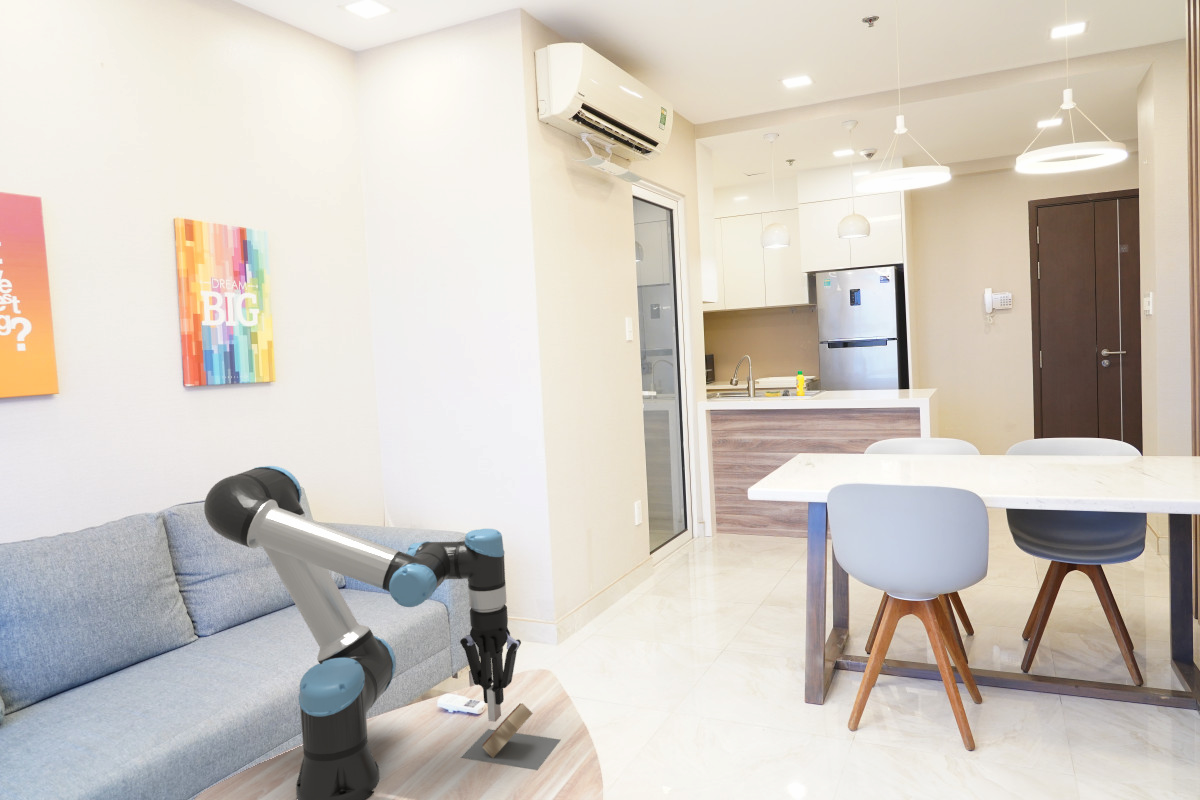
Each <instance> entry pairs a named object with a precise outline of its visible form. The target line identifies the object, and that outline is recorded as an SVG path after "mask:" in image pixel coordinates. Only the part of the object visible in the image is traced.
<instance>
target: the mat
mask: <svg viewBox="0 0 1200 800" xmlns="http://www.w3.org/2000/svg"><path fill="white" fill-rule="evenodd" d="M495 730H496V729H492V728H487V730H486V731H485V732H483V734H482V735H481V736H480V737H479V738H478V739H477V740H476V741H475V742H474V743H473V744H472V745H471V746H470V747H469V748H468V749H467V750H466V751H465V752H464V753H463V754H462V756H460V759H466V760H472V761H477V762H484V763H491V764H497V765H503V766H509V767H516V768H522V769H529V770H532V771H533V770H534V771H538V770H539V769H540V767H541V766H542V765H543V764H544V762H545V761H546V760H547V758H548V757H549V756H550V755H551V753H552V752H553V751H554V750H555V748H556V747H557V745H558V744H559V743H560V741H561V739H559V738H552V737H546V736H540V735H539V736H538V735H533V734H525V733H520V732H519V733H518V732H516V733H515V734H514V735H513V736H512V737H511V738H510V740H509V741H508V742H507V743H506V744H505V745H504V746H503V747H502V748H501V750H500V751H499V752H498V753H497V754H496V755H495V756H494V757H493V758H492V757H491V756H490V755H489V754H488V753H487V752H486V751H485V750H484V749H483V744H484V742H485V741H486V740H487V739H488V738H489V737H490V736H491V735H492V733H493V732H494V731H495Z"/></svg>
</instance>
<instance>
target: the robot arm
mask: <svg viewBox="0 0 1200 800" xmlns="http://www.w3.org/2000/svg"><path fill="white" fill-rule="evenodd" d="M301 488H302V487H301V485H300V483H299V481H298V479H297V478H296V476H294V474H292V473H291V472H290V471H289V470H287V469H286V468H282V467H280V466H275V465H267V466H265V465H264V466H257V467H254V468H252V469H249V470H246V471H243V472H241V473H237V474H235V475H231V476H228V477H225V478H222V479H221V480H220V481H217V483H215V484H214V485H213V486H212V487H211V488H210V490H209V491H208V493H207V494H206V497H205V499H204V505H203V509H204V510H203V511H204V516H205V519H206V521H207V523H208V525H209V526H210V527H211V528H212V529H213V530H214V531H215V532H216V533H217V534H218V535H220V536H221V537H222V538H223V537H224V538H225V539H227V540H229V541H232V542H233V543H236V544H239V545H242V546H245V547H247V548H250V549H256V548H259V547H262V548H263V549H264V551H265V553H266V555H267V556H268V559H269V560H270V563H271V564H272V566H273V567H274V569H275V571H276V573H277V575H278V576H279V578H280V580H281V581H282V583H283V585H284V587H285V588H286V591H287V592H288V593H289V596H290V597H291V600H292V601H293V602H294V604H295V606H296V608H297V609H298V611H299V613H300V615H301V616H302V618H303V621H304V622H305V624H306V625H307V627H308V629H309V631H310V632H311V635H312V636H313V638H314V640H315V642H316V643H317V646H318V648H319V651H318V654H317V659H316V660H317V662H318V663H317V664H314V665H313V666H312V667H311V668H309V669H308V670H307V671H306V672H305V673H304V674H303V676H302V677H301V679H300V683H299V694H298V703H299V707H300V708H299V710H300V721H301V732H302V733H301V737H302V748H303V759H302V762H301V765H300V769H299V772H298V773H299V774H298V778H297V779H296V780H297V781H296V784H295V785H296V786H295V792H296V793H295V794H296V795H295V796H296V800H297V799H298V800H366V799H367V798H368V797H370V796H371V795H373V793H374V792H375V791H374V789H375V788H376V787H377V786H378V784H379V783H380V782H379V781H380V768H379V765H378V763H377V761H376V760H375V759H374V756H373V753H372V749H371V748H370V745H369V741H368V740H369V738H368V722H367V713H368V712H369V710H370V709H371V708H372V707H373V706H374V704H375V703H376V702H377V701H378V699H379V698H380V697H381V696H382V695H383V694H384V693H385V692H386V691H387V690H388V688H389V686H390V684H391V682H392V680H393V678H394V677H395V673H396V669H397V658H396V654H395V651H394V650H393V648H392V646H391V645H390V644H389V643H388V642H387V641H386V640H385V639H384V638H381V637H378V636H377V635H374V633H373V632H372V630H371V627H369V626H366V625H362V624H359V623H358V621H357V619H356V617H355V616H354V614H353V612H352V610H351V608H350V607H349V605H348V603H347V602H346V600H345V598H344V596H343V595H342V593H341V591H340V589H339V588H338V585H337V584H336V582H335V580H334V579H333V577H332V575H331V573H330V572H334V573H337V574H340V575H342V576H344V577H345V576H346V577H348V578H351V579H354V580H356V581H359V582H361V583H364V584H367V585H370V586H372V587H376V588H378V589H381V590H384V591H386V592H389V594H390V597H391V598H392V599H393V600H394V602H396V603H397V604H398V605H400V606H401V607H404V608H405V607H406V608H415V607H417V606H419V605H421V604H423V603H425V601H427V600H429V599H430V598H431V597H432V596H433V594H434V593H435V591H436V590H437V589H438V587H440V586H441V585H442V583H443V582H444V581H445V580H464V579H467V582H468V584H467V587H468V600H469V601H468V604H469V607H470V610H469V618H470V619H469V621H470V622H469V623H470V626H471V629H470V632H469V634H467V635H466V636H464V637H463V638H461V639H460V641H459V643H460V645H461V646H462V648H463V650H464V652H465V655H466V659H467V662H468V666H469V669H470V673H471V677H472V681H473V683H474V685H475V686H480V687H481V688H482V689H483V702H484V703H485V704H487V718H488V722H493V723H494V722H497V721H498V719H499V718H501V716H502V709H501V707H502V706H501V705H502V704H503V703H504V700H505V699H504V698H505V697H504V689H506V688H507V687H508V686H509V685H510V684H511V683H512V680H513V677H514V671H515V670H514V669H515V663H516V658H517V652H518V649H520V646H521V643H522V641H521V640H520V639H519V638H518V639H515V638H513V637H512V636H511V632H510V630H509V628H508V625H509V624H508V622H509V620H508V616H509V615H508V607H507V605H506V604H507V587H506V586H507V585H506V571H505V570H506V569H505V565H506V564H505V550H504V542H503V535H502V533H501V532H500V531H499V530H497V529H494V528H481V529H474V530H470V531H468V532H466V534H465V539H464V540H462V541H424V542H415V543H412V544H410V545H409V547H407V548H408V549H407V552H406V553H405V552H402V551H399V550H397V549H395V548H391V547H388V546H386V545H383V544H380V543H378V542H375V541H372V540H369V539H366V538H364V537H361V536H358V535H355V534H354V533H350V532H347V531H345V530H342V529H339V528H336V527H334V526H330V525H328V524H325V523H322V522H319V521H316V520H314V519H311V518H308V517H307V516H306V513H305V511H304V509H303V508H302V506H301V497H302V489H301ZM329 571H330V572H329ZM505 645H506V653H505V659H503V653H504V646H505ZM503 660H504V661H503ZM503 662H504V663H503Z"/></svg>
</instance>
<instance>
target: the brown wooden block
mask: <svg viewBox="0 0 1200 800" xmlns="http://www.w3.org/2000/svg"><path fill="white" fill-rule="evenodd" d="M532 715H533V712H532V711H531V710H530V709H529V708H528V707H527V706H526V705H525V704H524V703H523V702H521V703H519V704H518V705H517V706H516V707H515V708H514V709H513V710H512V711H511V712H510V713H509V715H507V716H506V717H505V718H504V720H503V721H502V722H501V723H500V724H499V725H498V726H497V727H496V728H495V729H494V730H495V731H494V732H493V733H492V735H491V736H490V737H489V738H488V739H487V740H486V741H485V742H484V744H483V749H484V750H485V751H486V752H487V753H488V754H489V755H490V756H491V757H492V758H493V757H494V756H495V755H496V754H497V753H498V752H499V751H500V750H501V748H502V747H503V746H504V745H505V744H506V743H507V742H508V741H509V740H510V738H511V737H512V736H513V735H514V734H515V733H518V731H519V729H521V727H522V726H523V725H524V724H525V723H526V722H527V720H529V718H530V717H531V716H532Z"/></svg>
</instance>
